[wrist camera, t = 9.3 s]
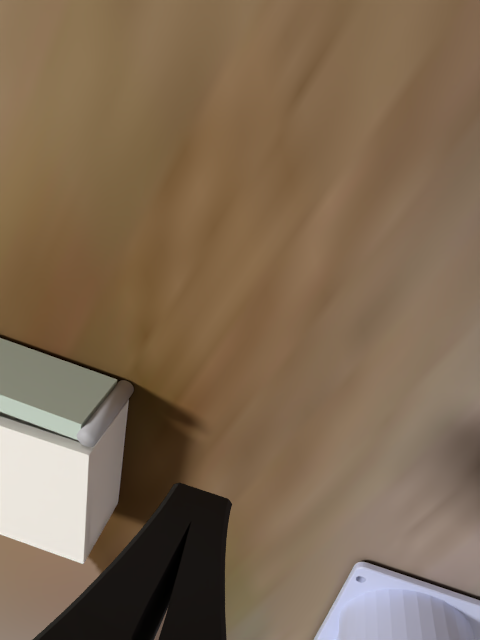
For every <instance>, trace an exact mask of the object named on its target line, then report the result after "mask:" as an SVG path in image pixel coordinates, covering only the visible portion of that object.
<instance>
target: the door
mask: <svg viewBox="0 0 480 640" xmlns="http://www.w3.org/2000/svg"><path fill="white" fill-rule="evenodd" d="M133 392H134V387H133V385H132V384H131V383H130V382H128V381H126V380H121V381H119V382H118V383H117V379H114V378H111V377H109V376H106V375H103V374H100V373H97V372H95V371H92V370H89V369H86V368H83V367H81V366H78V365H75V364H72V363H69V362H67V361H64V360H61V359H58V358H55V357H52V356H50V355H47V354H44V353H41V352H38V351H36V350H33V349H30V348H27V347H24V346H22V345H19V344H16V343H13V342H10V341H8V340H5V339H2V338H0V412H3V413H5V414H8V415H11V416H13V417H16V418H19V419H22V420H24V421H27V422H30V423H32V424H35V425H38V426H41V427H43V428H46V429H49V430H51V431H54V432H57V433H59V434H62V435H65V436H68V437H70V438H73V439H76V440H78V441H79V442H80V443H81V444H82V445H84V446H86V447H93V446H95V445H96V443H97V442H98V440H99V439H100V438H101V436H102V435H103V433H104V432H105V431H106V429H107V428H108V427H109V425H110V424H111V422H112V421H113V420H114V418H115V417H116V416H117V414H118V413H119V411H120V410H121V409H122V407H123V406H124V404H125V403H126V402H127V400H128V399H129V398H130V396H131V395H132V393H133Z"/></svg>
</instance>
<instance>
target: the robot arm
mask: <svg viewBox="0 0 480 640" xmlns="http://www.w3.org/2000/svg"><path fill="white" fill-rule="evenodd" d="M231 506H232V503H231V502H230V500H229V499H227V498H224V497H221V496H218V495H215V494H212V493H209V492H206V491H203V490H200V489H197V488H194V487H191V486H188V485H185V484H182V483H177V484H174V485H173V487H172V488H171V490H170V491H169V493H168V495H167V496H166V497H165V499H164V500H163V502H162V503H161V505H160V506H159V507H158V509H157V510H156V511H155V513H154V514H153V515H152V516H151V518H150V519H149V520H148V521H147V523H146V524H145V525H144V526H143V528H142V529H141V530H140V531H139V532H138V534H137V535H136V536H135V537H134V538H133V539H132V540H131V542H130V543H129V544H128V545H127V546H126V547H125V548H124V550H123V551H122V552H121V553H120V554H119V555H118V556H117V558H116V559H115V560H114V561H113V562H112V563H111V564H110V565H109V566H108V567H107V568H106V569H105V570H104V571H103V572H102V573H101V574H100V576H99V577H98V578H97V579H96V580H95V581H94V582H93V583H92V584H91V585H90V586H89V587H88V588H87V589H86V590H85V591H84V592H83V593H82V594H81V595H80V596H79V597H78V598H77V599H76V600H75V601H74V602H73V603H72V604H71V605H70V606H69V607H68V608H67V609H66V610H65V611H64V612H62V613H61V614H60V615H59V616H58V617H57V618H56V619H55V620H54V621H53V622H52V623H50V624H49V625H48V626H47V627H46V628H45V629H44V630H43V631H42V632H41V633H39V634H38V635H37V636H36V637H35V638H34V639H33V640H154V638H155V636H156V633H157V631H158V629H159V627H160V624H161V622H162V620H163V617H164V615H165V613H166V610H167V608H168V610H167V614H166V618H165V621H164V624H163V627H162V630H161V634H160V637H159V640H226V622H225V553H226V538H227V528H228V521H229V515H230V510H231ZM168 606H169V607H168ZM314 640H480V600H477V599H474V598H471V597H468V596H465V595H462V594H459V593H456V592H453V591H450V590H447V589H444V588H441V587H438V586H435V585H432V584H430V583H427V582H424V581H421V580H418V579H415V578H412V577H409V576H406V575H403V574H400V573H397V572H394V571H391V570H388V569H385V568H382V567H379V566H376V565H373V564H370V563H367V562H358V563H356V564H355V565H354V567H353V569H352V571H351V573H350V574H349V576H348V578H347V580H346V582H345V584H344V585H343V587H342V589H341V591H340V593H339V594H338V596H337V598H336V600H335V602H334V604H333V605H332V607H331V609H330V611H329V613H328V615H327V616H326V618H325V620H324V622H323V624H322V625H321V627H320V629H319V631H318V633H317V635H316V636H315V638H314Z"/></svg>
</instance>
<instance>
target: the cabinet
mask: <svg viewBox="0 0 480 640" xmlns="http://www.w3.org/2000/svg"><path fill="white" fill-rule="evenodd" d="M128 403H129V400H127V402H126V403H125V404H124V406H123V407H122V409H121V410H120V411H119V413H118V414H117V416H116V417H115V418H114V420H113V421H112V422H111V424H110V425H109V427H108V428H107V429H106V431H105V432H104V433H103V435H102V436H101V438H100V439H99V440H98V442H97V443H96V445H95V446H93V447H86V446H84V445H82V444H81V443H80V442H79V441H78V440H76V439H73V438H70V437H68V436H65V435H62V434H59V433H57V432H54V431H51V430H49V429H46V428H43V427H41V426H38V425H35V424H32V423H30V422H27V421H24V420H22V419H19V418H16V417H13V416H11V415H8V414H5V413H3V412H0V534H1V535H3V536H6V537H9V538H12V539H15V540H17V541H20V542H23V543H26V544H29V545H32V546H35V547H37V548H40V549H43V550H46V551H48V552H51V553H54V554H57V555H59V556H62V557H65V558H68V559H71V560H73V561H76V562H79V563H82V564H84V562H85V560H86V559H87V557H88V555H89V553H90V551H91V550H92V548H93V546H94V544H95V543H96V541H97V539H98V537H99V536H100V534H101V532H102V530H103V529H104V527H105V525H106V523H107V521H108V520H109V518H110V516H111V514H112V513H113V511H114V509H115V507H116V506H117V504H118V500H119V490H120V480H121V471H122V461H123V451H124V442H125V432H126V422H127V413H128Z"/></svg>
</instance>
